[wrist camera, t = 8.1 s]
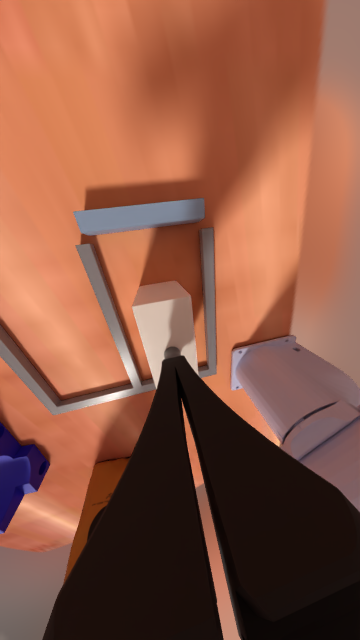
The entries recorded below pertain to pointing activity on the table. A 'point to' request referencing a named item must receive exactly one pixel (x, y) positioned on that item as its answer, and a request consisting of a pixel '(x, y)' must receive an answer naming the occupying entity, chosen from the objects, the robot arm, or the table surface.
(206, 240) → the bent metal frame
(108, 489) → the coffee package
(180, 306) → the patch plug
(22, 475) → the cable clip
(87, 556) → the robot arm
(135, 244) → the table surface
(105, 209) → the blue-grey bar
